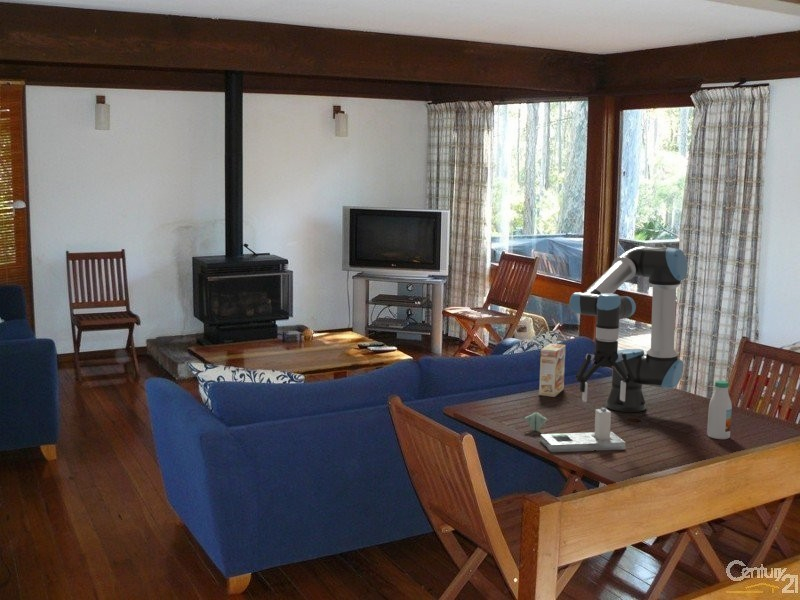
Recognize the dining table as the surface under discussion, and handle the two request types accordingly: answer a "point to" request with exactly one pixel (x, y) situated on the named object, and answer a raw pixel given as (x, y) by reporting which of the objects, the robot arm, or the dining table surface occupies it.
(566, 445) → the panel
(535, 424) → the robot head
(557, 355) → the coffeecake box
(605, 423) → the plug
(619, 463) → the dining table surface
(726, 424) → the milk bottle
